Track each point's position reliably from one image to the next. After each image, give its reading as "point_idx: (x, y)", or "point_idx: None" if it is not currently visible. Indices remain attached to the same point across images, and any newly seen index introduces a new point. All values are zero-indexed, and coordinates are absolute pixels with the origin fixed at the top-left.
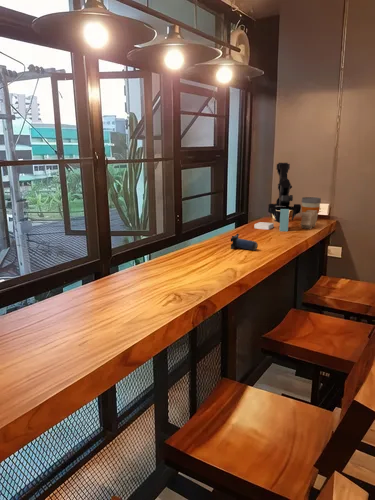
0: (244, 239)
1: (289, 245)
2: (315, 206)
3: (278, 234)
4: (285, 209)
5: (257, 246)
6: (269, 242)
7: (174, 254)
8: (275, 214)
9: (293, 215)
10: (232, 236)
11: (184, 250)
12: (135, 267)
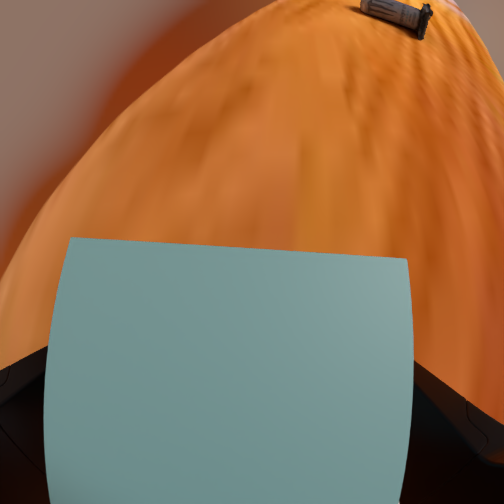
0: (399, 2)
1: (262, 21)
2: None
3: (307, 186)
4: (172, 482)
5: (360, 4)
6: (341, 46)
7: (478, 40)
8: (444, 393)
9: (40, 354)
10: (427, 4)
11: (485, 52)
12: (468, 20)
